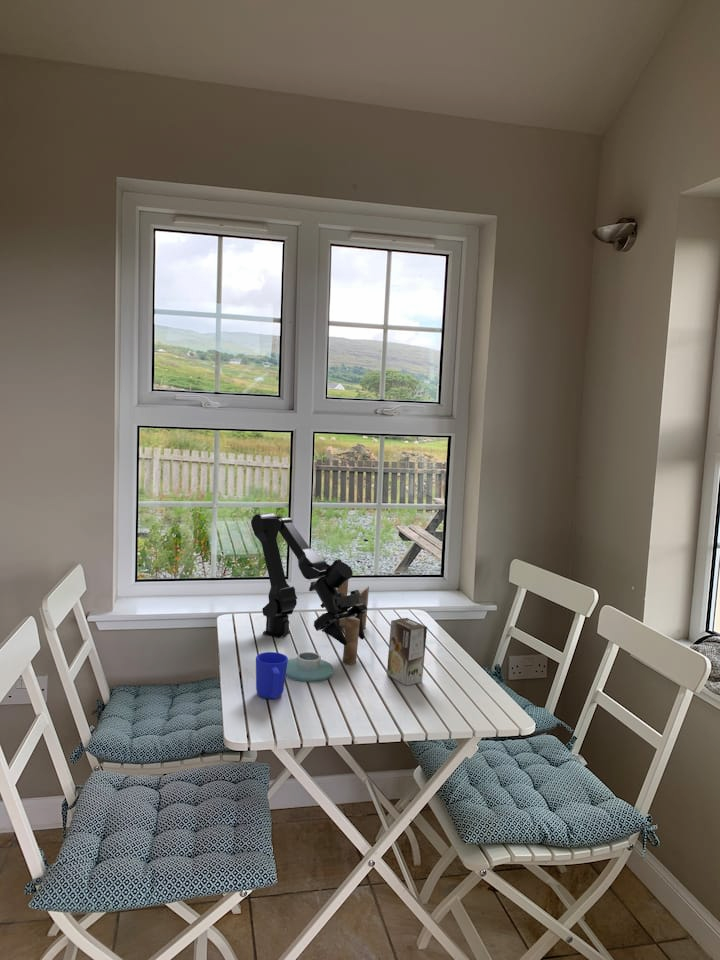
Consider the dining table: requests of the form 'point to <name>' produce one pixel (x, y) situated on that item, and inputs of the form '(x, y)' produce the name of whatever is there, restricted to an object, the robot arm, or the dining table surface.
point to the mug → (270, 674)
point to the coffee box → (406, 651)
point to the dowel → (351, 640)
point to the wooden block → (364, 600)
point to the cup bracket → (308, 668)
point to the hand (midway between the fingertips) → (354, 641)
